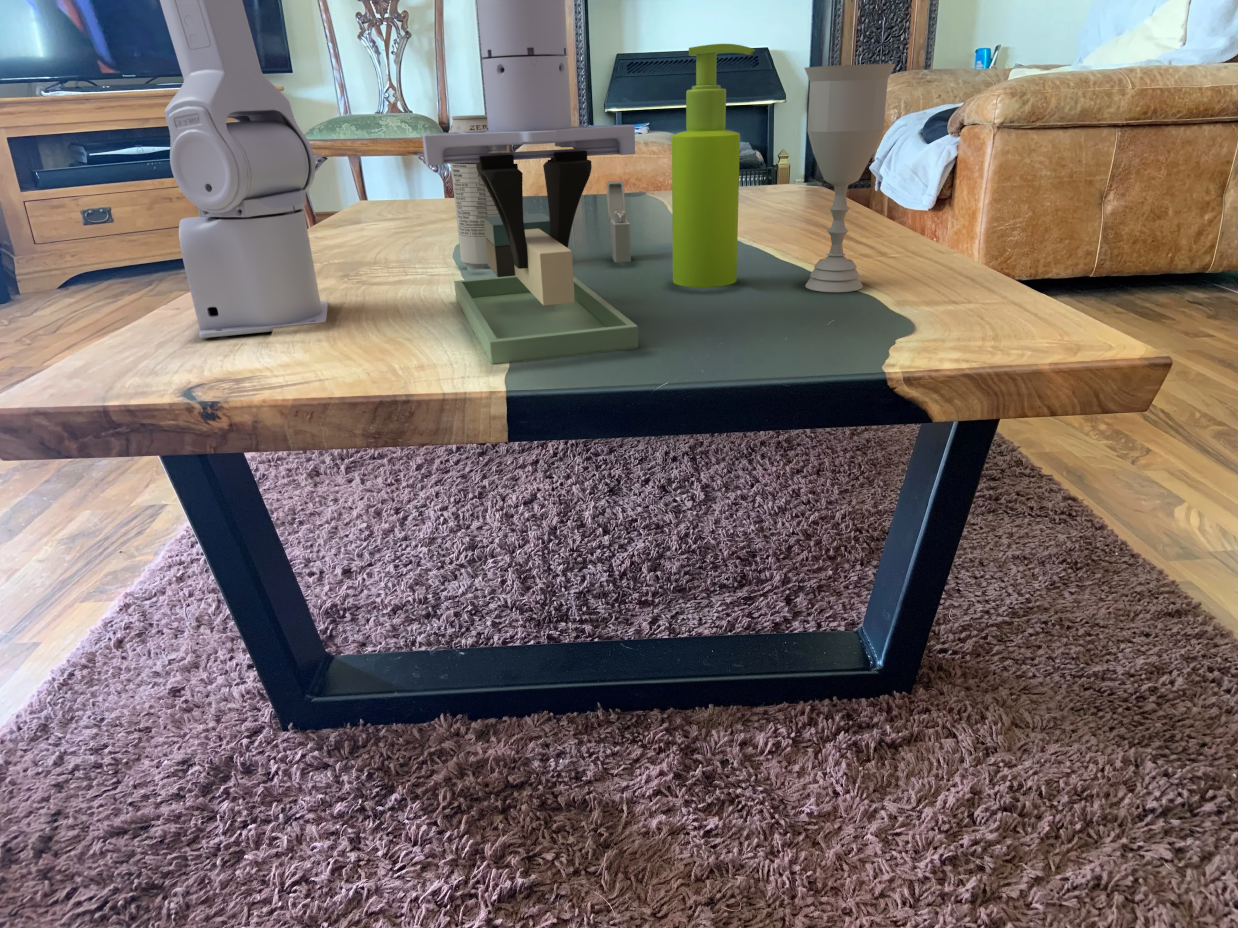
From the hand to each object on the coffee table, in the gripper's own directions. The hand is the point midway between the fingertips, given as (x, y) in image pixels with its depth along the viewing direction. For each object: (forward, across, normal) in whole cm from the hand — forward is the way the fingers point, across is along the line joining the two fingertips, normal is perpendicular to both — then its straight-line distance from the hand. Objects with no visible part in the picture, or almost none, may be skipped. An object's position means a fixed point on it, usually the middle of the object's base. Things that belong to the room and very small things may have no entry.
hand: (539, 264), depth 61 cm
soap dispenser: (+6, +18, +11) cm, 22 cm away
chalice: (+6, +28, +6) cm, 29 cm away
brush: (+2, 0, +3) cm, 3 cm away
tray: (+5, 0, +3) cm, 6 cm away
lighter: (+6, +14, +27) cm, 31 cm away
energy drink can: (+6, 0, +29) cm, 30 cm away
